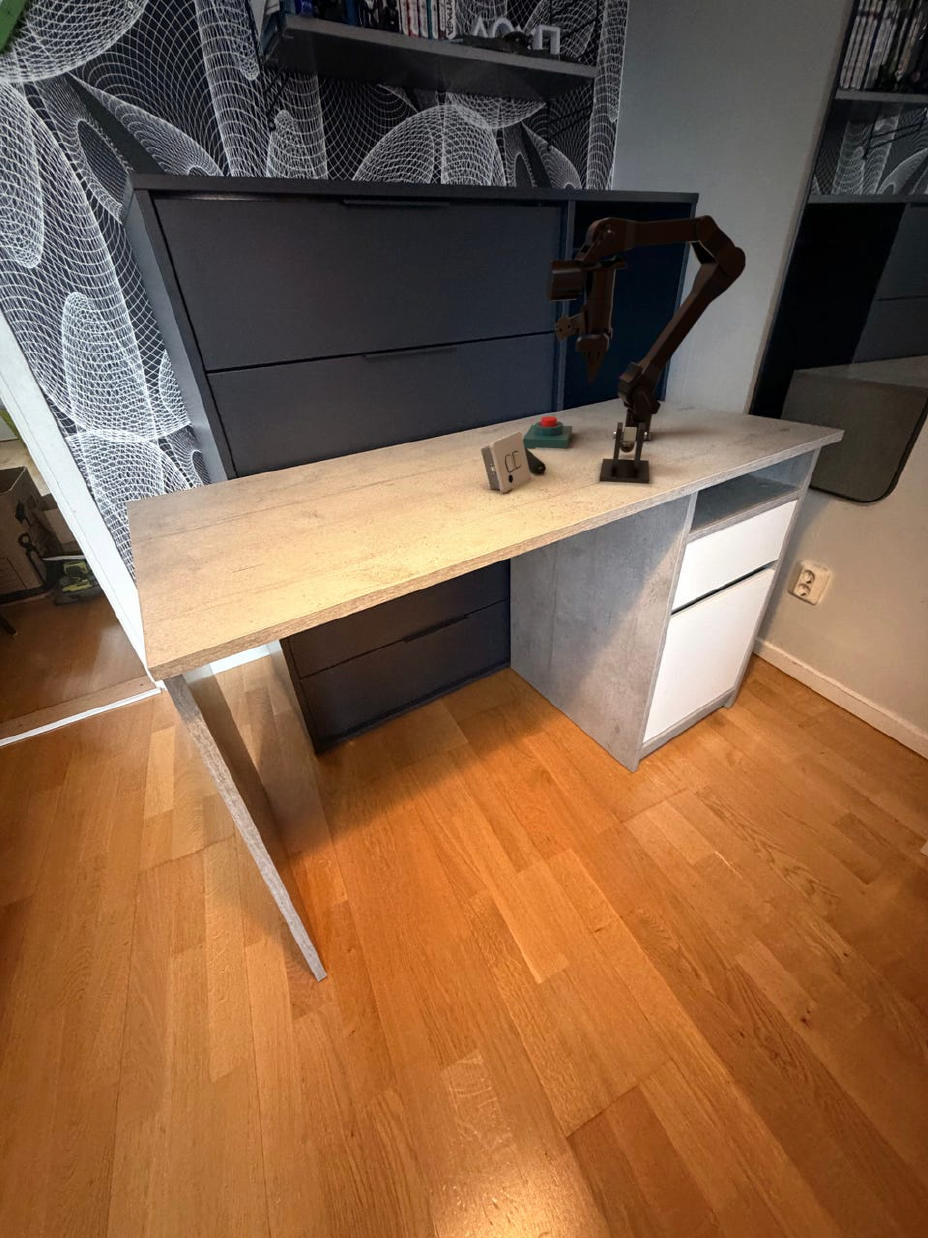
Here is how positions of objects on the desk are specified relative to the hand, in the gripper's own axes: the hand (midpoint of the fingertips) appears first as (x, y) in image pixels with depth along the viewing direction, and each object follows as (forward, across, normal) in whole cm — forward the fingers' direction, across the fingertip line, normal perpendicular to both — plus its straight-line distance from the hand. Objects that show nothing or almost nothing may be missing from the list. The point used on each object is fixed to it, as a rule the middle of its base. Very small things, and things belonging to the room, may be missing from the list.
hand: (591, 382), depth 108 cm
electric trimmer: (+13, +18, -11) cm, 25 cm away
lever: (+9, +17, +9) cm, 21 cm away
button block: (+13, +1, -9) cm, 16 cm away
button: (+9, +1, -9) cm, 13 cm away
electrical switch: (+13, +30, -13) cm, 35 cm away
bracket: (+13, +21, +9) cm, 26 cm away
